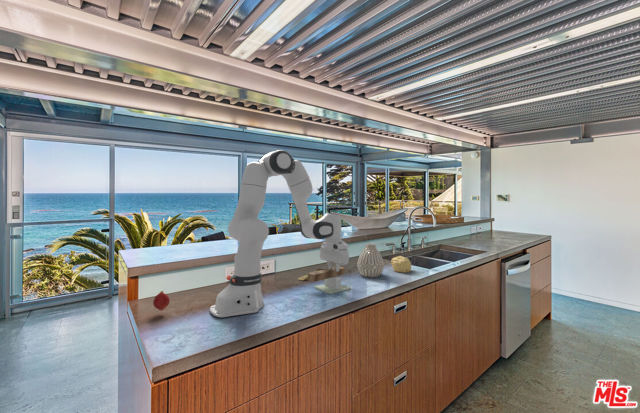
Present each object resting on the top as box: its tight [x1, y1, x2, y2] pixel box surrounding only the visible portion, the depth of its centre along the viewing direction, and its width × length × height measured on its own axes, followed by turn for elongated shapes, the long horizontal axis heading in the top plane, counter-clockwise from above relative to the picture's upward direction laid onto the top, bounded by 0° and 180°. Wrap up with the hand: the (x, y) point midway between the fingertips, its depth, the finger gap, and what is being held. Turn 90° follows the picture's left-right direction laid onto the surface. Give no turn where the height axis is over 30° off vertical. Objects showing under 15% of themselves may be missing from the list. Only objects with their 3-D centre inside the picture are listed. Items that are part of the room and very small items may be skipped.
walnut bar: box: [307, 266, 346, 283], centre depth 153 cm, size 22×3×5 cm
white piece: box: [313, 276, 352, 295], centre depth 152 cm, size 14×13×6 cm
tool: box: [297, 268, 325, 281], centre depth 173 cm, size 22×6×5 cm, turn 114°
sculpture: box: [390, 255, 412, 273], centre depth 189 cm, size 11×12×11 cm
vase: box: [356, 243, 385, 278], centre depth 178 cm, size 16×16×20 cm
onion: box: [152, 290, 170, 311], centre depth 121 cm, size 6×6×8 cm
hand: (333, 270), depth 153 cm, fingers open, 4 cm apart
